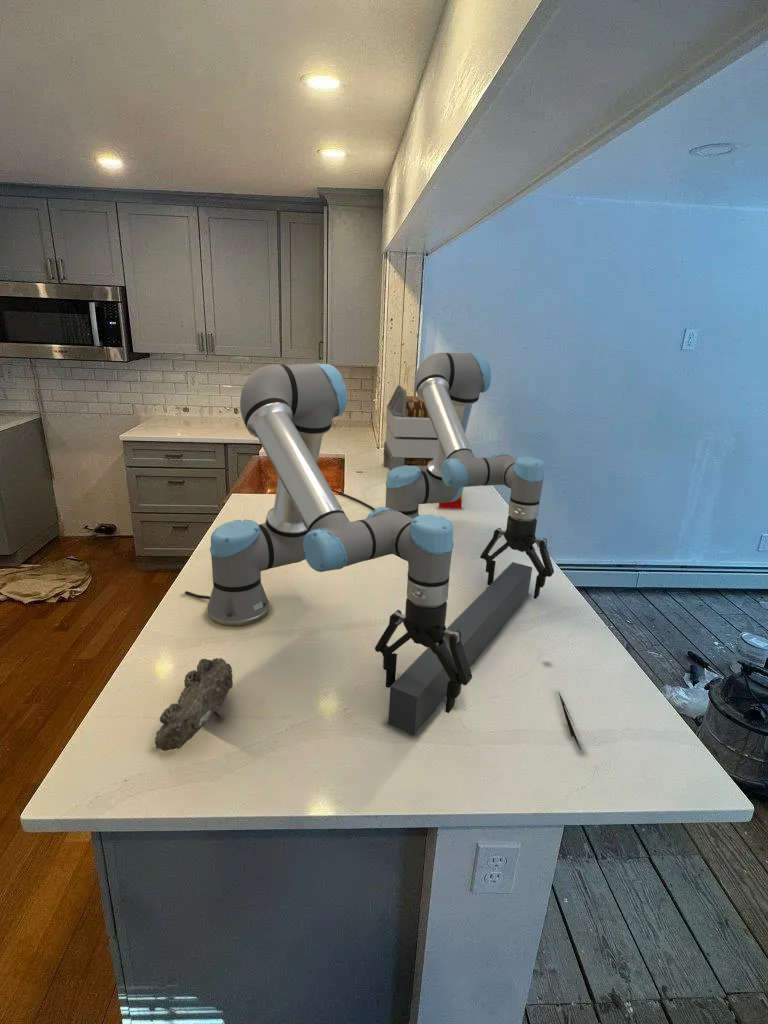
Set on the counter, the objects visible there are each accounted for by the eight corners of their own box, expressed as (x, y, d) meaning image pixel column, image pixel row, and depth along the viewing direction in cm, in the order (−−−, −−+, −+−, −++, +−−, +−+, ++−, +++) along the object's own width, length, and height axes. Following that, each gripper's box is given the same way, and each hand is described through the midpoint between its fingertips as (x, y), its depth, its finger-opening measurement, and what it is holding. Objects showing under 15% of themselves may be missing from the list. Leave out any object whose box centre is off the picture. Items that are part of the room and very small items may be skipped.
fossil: (182, 659, 118) (233, 627, 113) (214, 689, 120) (265, 659, 115) (130, 744, 98) (189, 710, 93) (170, 778, 101) (229, 746, 96)
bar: (508, 589, 163) (512, 561, 160) (528, 594, 161) (532, 567, 158) (387, 724, 108) (390, 686, 105) (414, 736, 106) (417, 697, 103)
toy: (456, 466, 252) (467, 476, 223) (454, 496, 255) (465, 509, 225) (428, 465, 252) (437, 475, 222) (427, 495, 254) (435, 508, 225)
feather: (547, 667, 130) (553, 661, 129) (581, 755, 103) (588, 747, 102) (541, 664, 129) (547, 657, 129) (573, 750, 103) (580, 743, 102)
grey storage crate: (382, 463, 289) (386, 382, 275) (445, 464, 293) (451, 384, 279) (390, 482, 257) (394, 392, 243) (460, 483, 261) (468, 394, 247)
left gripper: (359, 588, 106) (356, 683, 114) (481, 628, 95) (469, 732, 102) (380, 573, 113) (376, 665, 120) (497, 610, 101) (485, 709, 108)
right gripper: (473, 510, 151) (465, 582, 158) (566, 531, 139) (553, 608, 146) (483, 503, 157) (476, 573, 164) (573, 523, 145) (561, 597, 152)
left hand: (419, 696), depth 111 cm, fingers open, 12 cm apart
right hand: (512, 590), depth 155 cm, fingers open, 12 cm apart
